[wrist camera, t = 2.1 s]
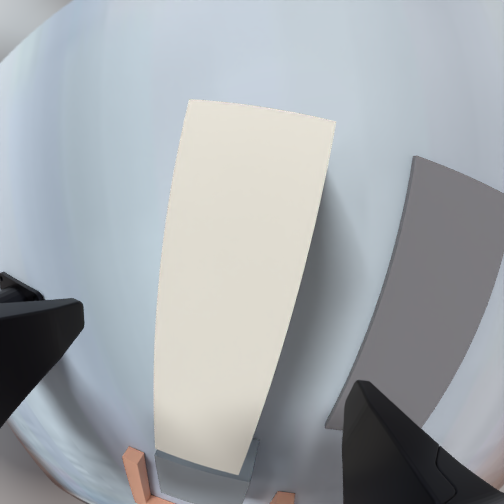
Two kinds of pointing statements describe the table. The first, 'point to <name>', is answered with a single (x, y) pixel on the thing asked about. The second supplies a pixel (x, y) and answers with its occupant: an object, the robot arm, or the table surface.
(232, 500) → the grey square block
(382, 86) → the table surface
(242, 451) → the bar
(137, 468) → the frame
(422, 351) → the rest mat
